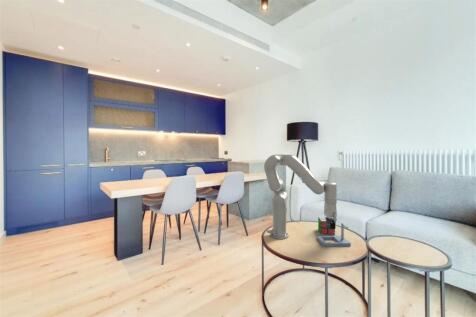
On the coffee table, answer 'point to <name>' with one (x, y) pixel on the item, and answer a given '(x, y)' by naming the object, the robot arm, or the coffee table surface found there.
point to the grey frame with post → (339, 239)
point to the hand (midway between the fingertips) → (330, 226)
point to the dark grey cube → (329, 223)
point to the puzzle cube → (324, 227)
